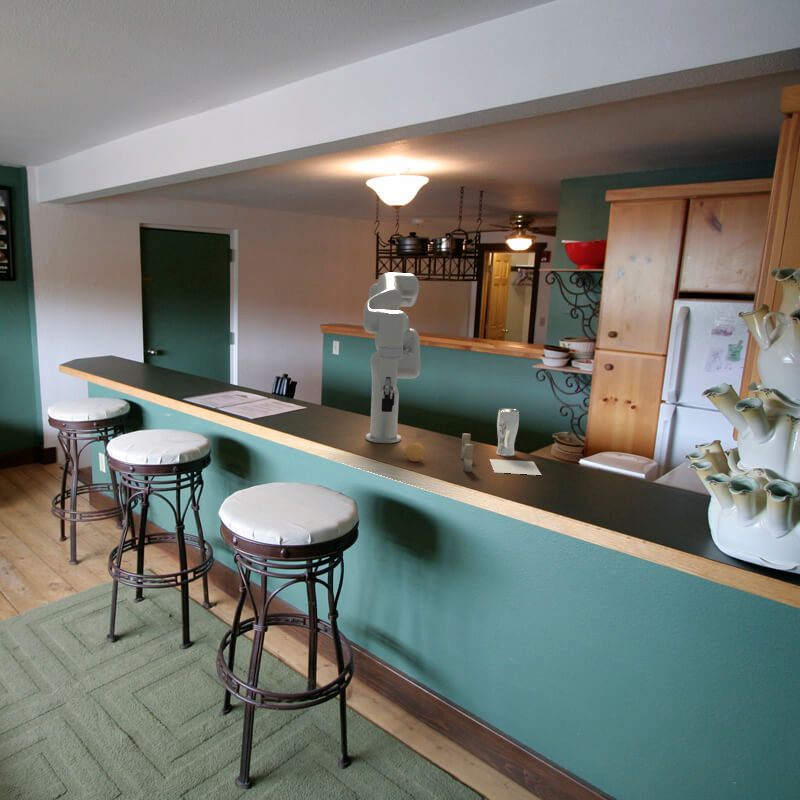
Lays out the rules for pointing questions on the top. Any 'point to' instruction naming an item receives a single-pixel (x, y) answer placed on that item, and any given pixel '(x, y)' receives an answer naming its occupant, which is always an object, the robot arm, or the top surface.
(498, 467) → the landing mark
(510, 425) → the beer glass
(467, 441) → the back post
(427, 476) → the top surface
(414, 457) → the ball
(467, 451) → the front post
